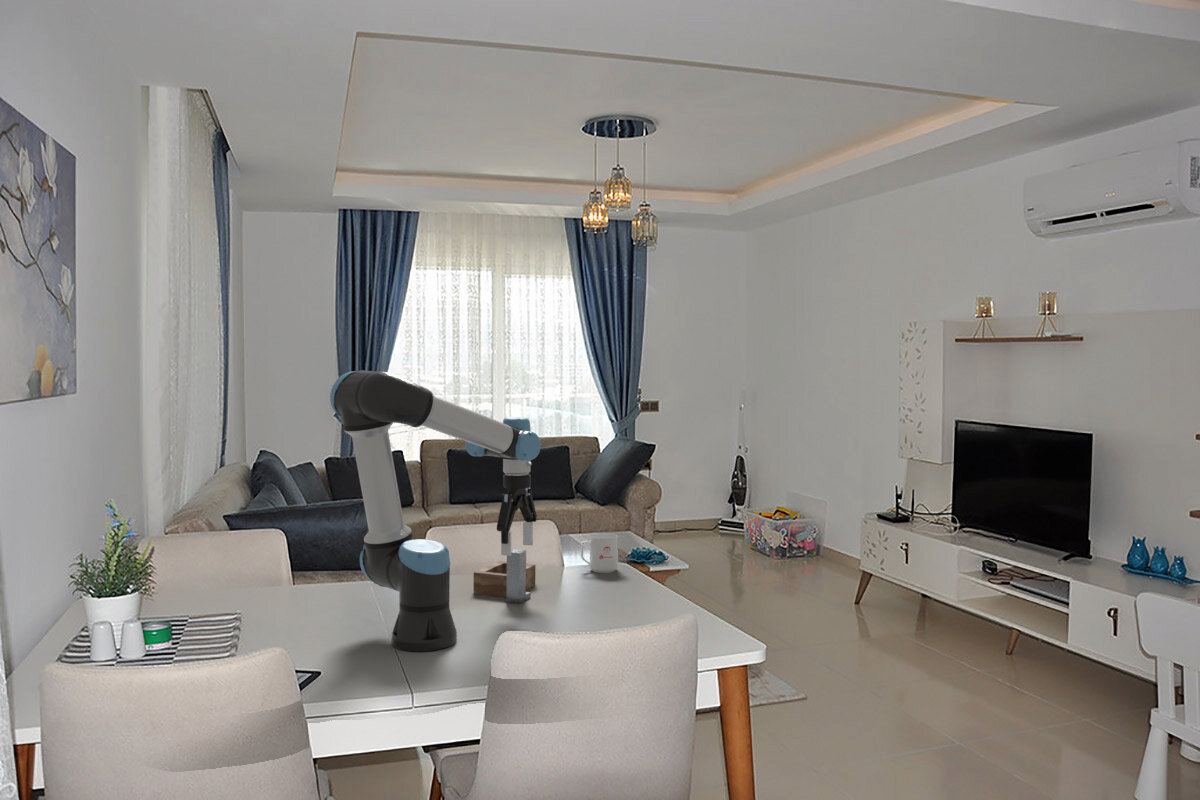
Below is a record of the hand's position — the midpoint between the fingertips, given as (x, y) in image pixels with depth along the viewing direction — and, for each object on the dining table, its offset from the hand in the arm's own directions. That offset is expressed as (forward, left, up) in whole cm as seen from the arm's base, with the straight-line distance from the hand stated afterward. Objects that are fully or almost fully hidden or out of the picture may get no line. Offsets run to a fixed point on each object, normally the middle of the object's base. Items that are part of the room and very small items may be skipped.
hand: (517, 550), depth 255 cm
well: (+11, +9, -14) cm, 20 cm away
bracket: (+1, 0, -14) cm, 14 cm away
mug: (+43, -8, -15) cm, 46 cm away
